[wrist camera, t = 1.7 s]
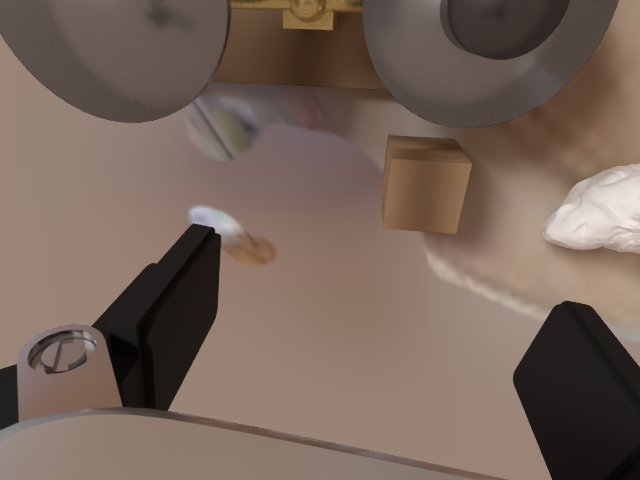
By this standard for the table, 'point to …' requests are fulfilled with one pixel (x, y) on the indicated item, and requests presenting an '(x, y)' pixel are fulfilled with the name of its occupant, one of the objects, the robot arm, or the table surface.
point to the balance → (309, 13)
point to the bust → (599, 213)
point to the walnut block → (424, 184)
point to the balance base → (296, 53)
